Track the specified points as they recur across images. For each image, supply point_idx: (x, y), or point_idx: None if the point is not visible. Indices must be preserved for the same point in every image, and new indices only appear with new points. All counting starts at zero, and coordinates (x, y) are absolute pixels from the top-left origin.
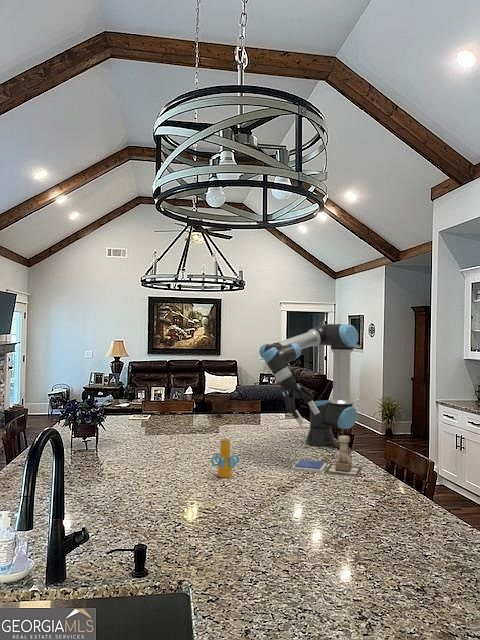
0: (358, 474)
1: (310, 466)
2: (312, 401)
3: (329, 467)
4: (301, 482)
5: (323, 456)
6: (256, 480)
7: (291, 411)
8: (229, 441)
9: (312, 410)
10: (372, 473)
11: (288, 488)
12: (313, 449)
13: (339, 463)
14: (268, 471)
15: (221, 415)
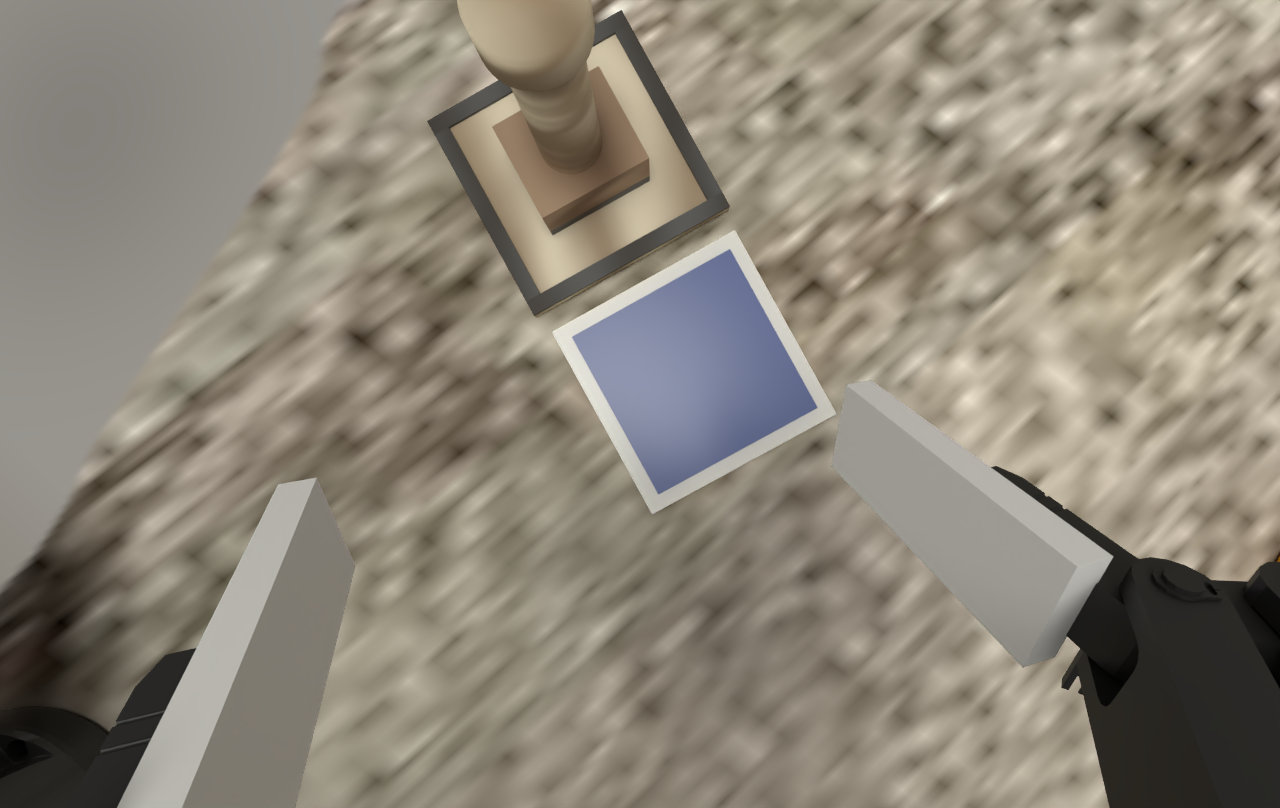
0: (597, 26)
1: (753, 315)
2: (164, 779)
3: (619, 254)
4: (1018, 163)
5: (364, 521)
6: (1220, 373)
7: (1241, 583)
8: None
9: (331, 646)
10: None
11: (1183, 125)
12: None
13: (624, 138)
14: None
15: None
